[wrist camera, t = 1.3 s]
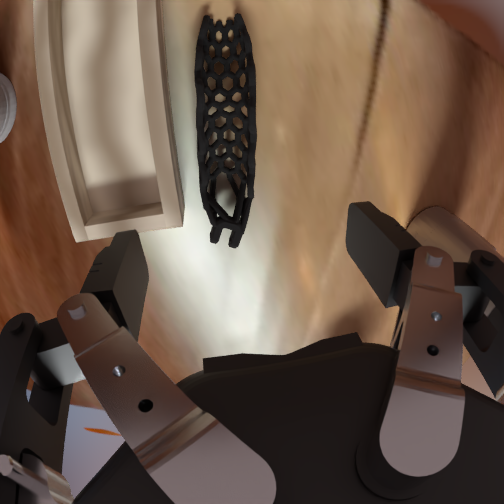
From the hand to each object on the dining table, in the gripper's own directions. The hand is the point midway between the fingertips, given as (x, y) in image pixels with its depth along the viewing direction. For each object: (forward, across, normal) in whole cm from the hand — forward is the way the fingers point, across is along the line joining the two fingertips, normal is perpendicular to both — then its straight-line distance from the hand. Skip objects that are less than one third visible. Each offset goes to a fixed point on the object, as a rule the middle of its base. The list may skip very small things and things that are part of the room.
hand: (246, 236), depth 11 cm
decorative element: (+21, 0, 0) cm, 21 cm away
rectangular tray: (+20, +10, -6) cm, 23 cm away
